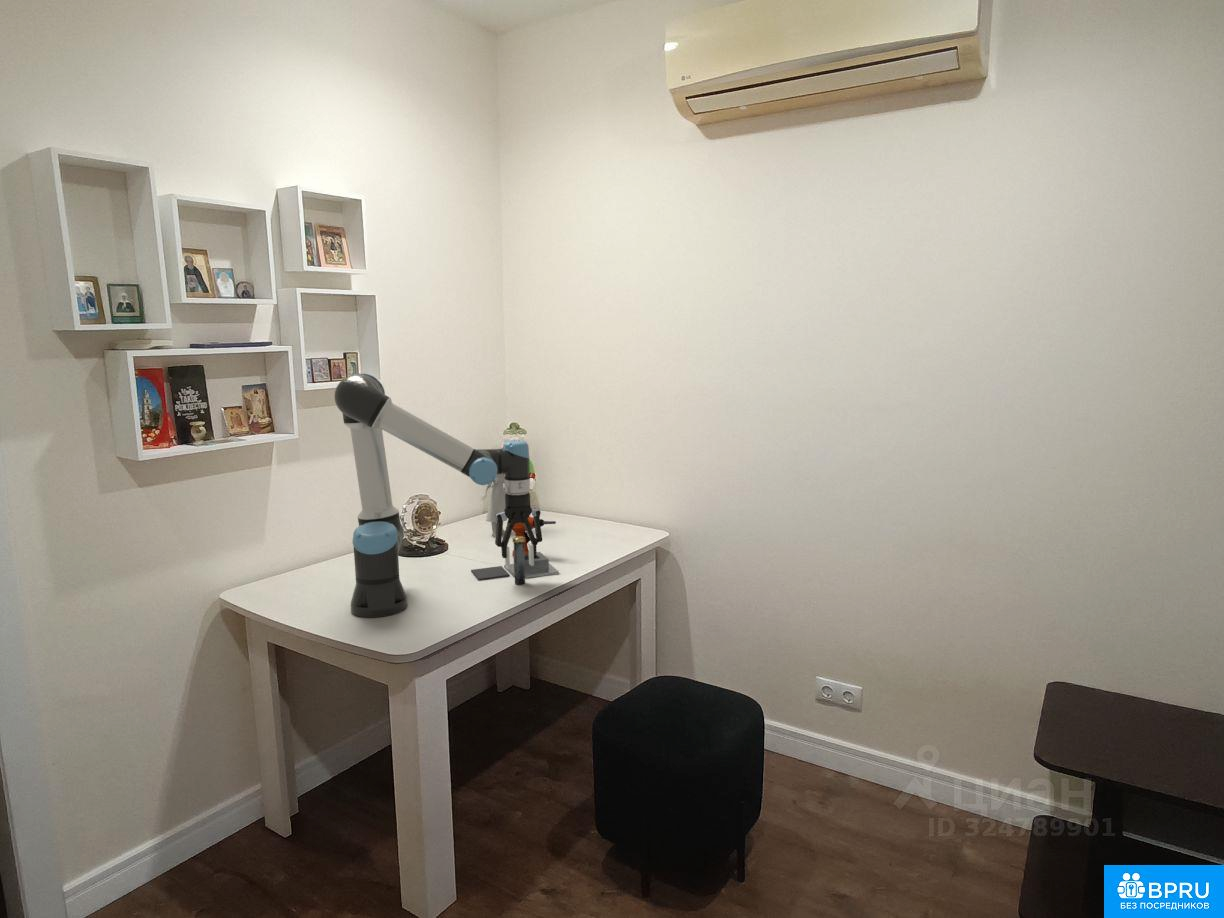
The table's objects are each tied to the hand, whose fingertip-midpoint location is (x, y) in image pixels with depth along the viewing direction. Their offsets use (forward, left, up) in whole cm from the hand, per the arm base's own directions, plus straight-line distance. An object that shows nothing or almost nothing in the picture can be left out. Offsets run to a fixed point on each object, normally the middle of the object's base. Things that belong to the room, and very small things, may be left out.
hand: (519, 566), depth 232 cm
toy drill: (+12, +24, -6) cm, 27 cm away
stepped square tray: (+7, +11, -6) cm, 14 cm away
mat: (-6, +13, -6) cm, 15 cm away
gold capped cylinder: (0, 0, -6) cm, 6 cm away
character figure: (+9, +58, -6) cm, 59 cm away
